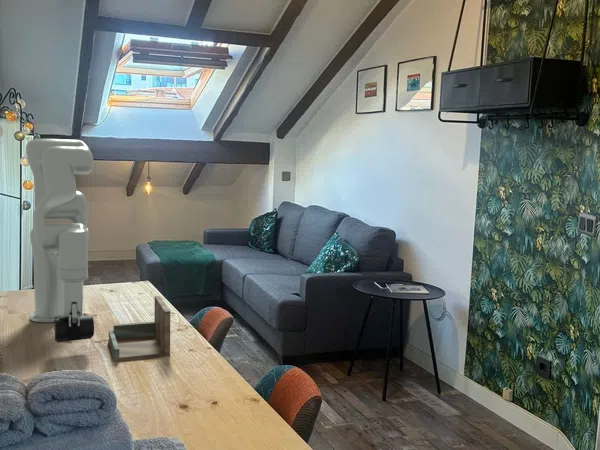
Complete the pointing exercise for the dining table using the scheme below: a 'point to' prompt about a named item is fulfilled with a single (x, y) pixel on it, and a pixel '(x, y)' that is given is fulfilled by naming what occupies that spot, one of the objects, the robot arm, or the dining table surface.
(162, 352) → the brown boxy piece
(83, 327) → the end cap
